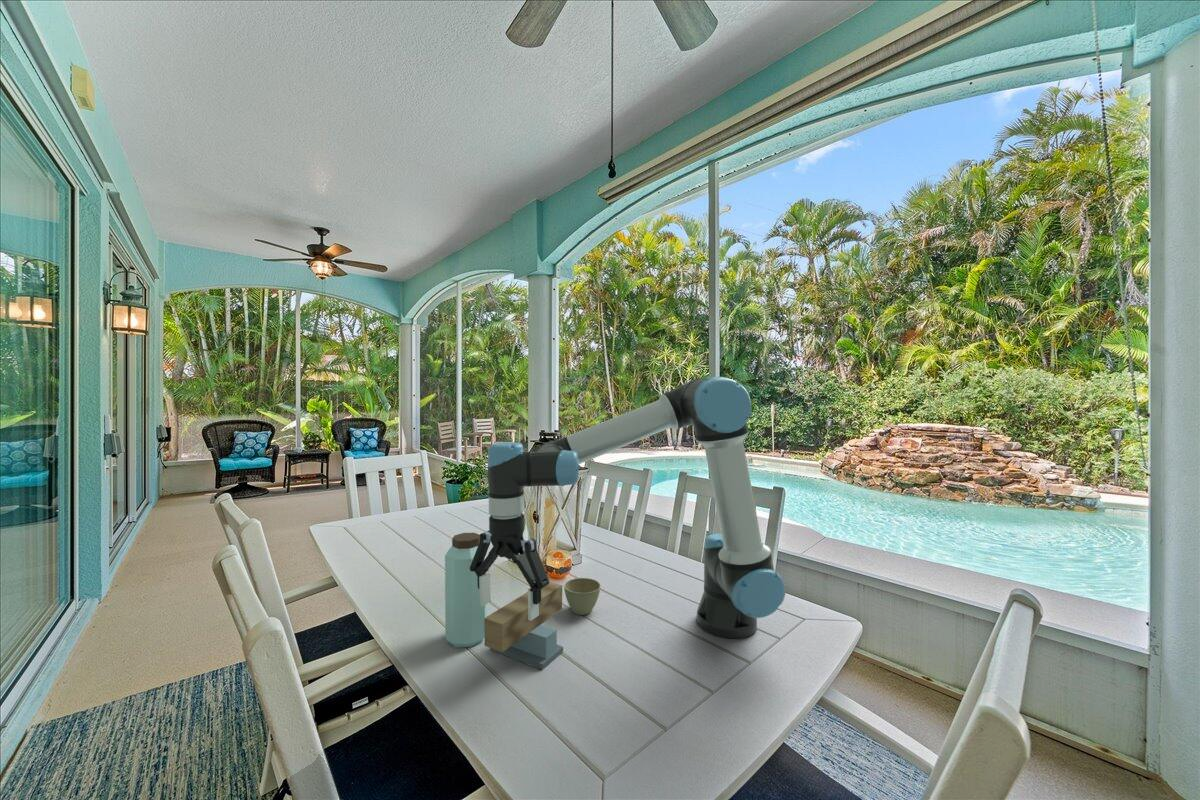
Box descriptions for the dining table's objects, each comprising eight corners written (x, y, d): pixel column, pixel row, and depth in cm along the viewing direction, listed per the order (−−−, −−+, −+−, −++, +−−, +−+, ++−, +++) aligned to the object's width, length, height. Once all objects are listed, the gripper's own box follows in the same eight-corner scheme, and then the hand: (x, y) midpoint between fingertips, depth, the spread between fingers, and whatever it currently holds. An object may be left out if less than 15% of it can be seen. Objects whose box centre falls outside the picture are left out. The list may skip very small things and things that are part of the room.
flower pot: (596, 621, 123) (596, 594, 123) (559, 617, 125) (559, 591, 125) (603, 604, 133) (603, 579, 133) (569, 600, 135) (569, 576, 135)
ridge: (563, 651, 110) (563, 626, 109) (542, 669, 103) (542, 642, 102) (512, 634, 117) (512, 610, 117) (490, 650, 110) (490, 624, 110)
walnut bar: (545, 604, 120) (546, 580, 120) (562, 608, 118) (562, 585, 118) (484, 645, 101) (484, 618, 101) (502, 652, 99) (502, 624, 98)
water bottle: (449, 654, 108) (448, 546, 107) (441, 633, 117) (441, 533, 116) (492, 643, 113) (492, 539, 112) (482, 624, 122) (482, 528, 121)
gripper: (564, 517, 100) (566, 616, 100) (476, 503, 112) (478, 591, 113) (543, 527, 93) (545, 632, 94) (452, 511, 105) (454, 604, 106)
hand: (508, 610), depth 103 cm, fingers open, 13 cm apart
